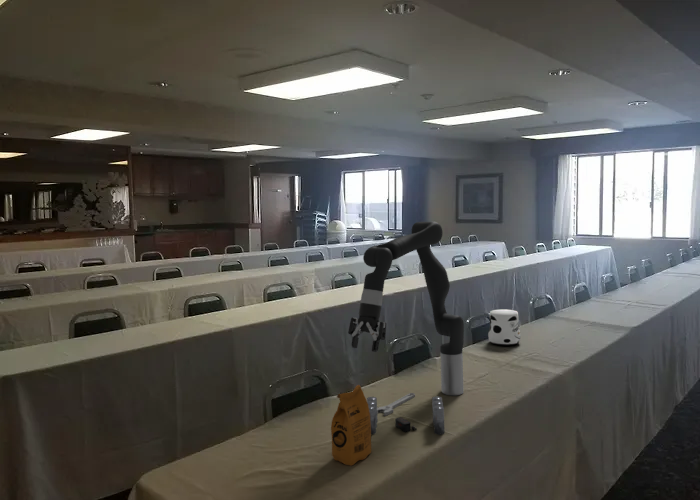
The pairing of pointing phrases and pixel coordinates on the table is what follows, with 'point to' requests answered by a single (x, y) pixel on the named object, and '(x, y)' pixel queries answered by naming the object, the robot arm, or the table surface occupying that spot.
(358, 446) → the coffee package
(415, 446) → the table surface
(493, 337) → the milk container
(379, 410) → the adjustable wrench
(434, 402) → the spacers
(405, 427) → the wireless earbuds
